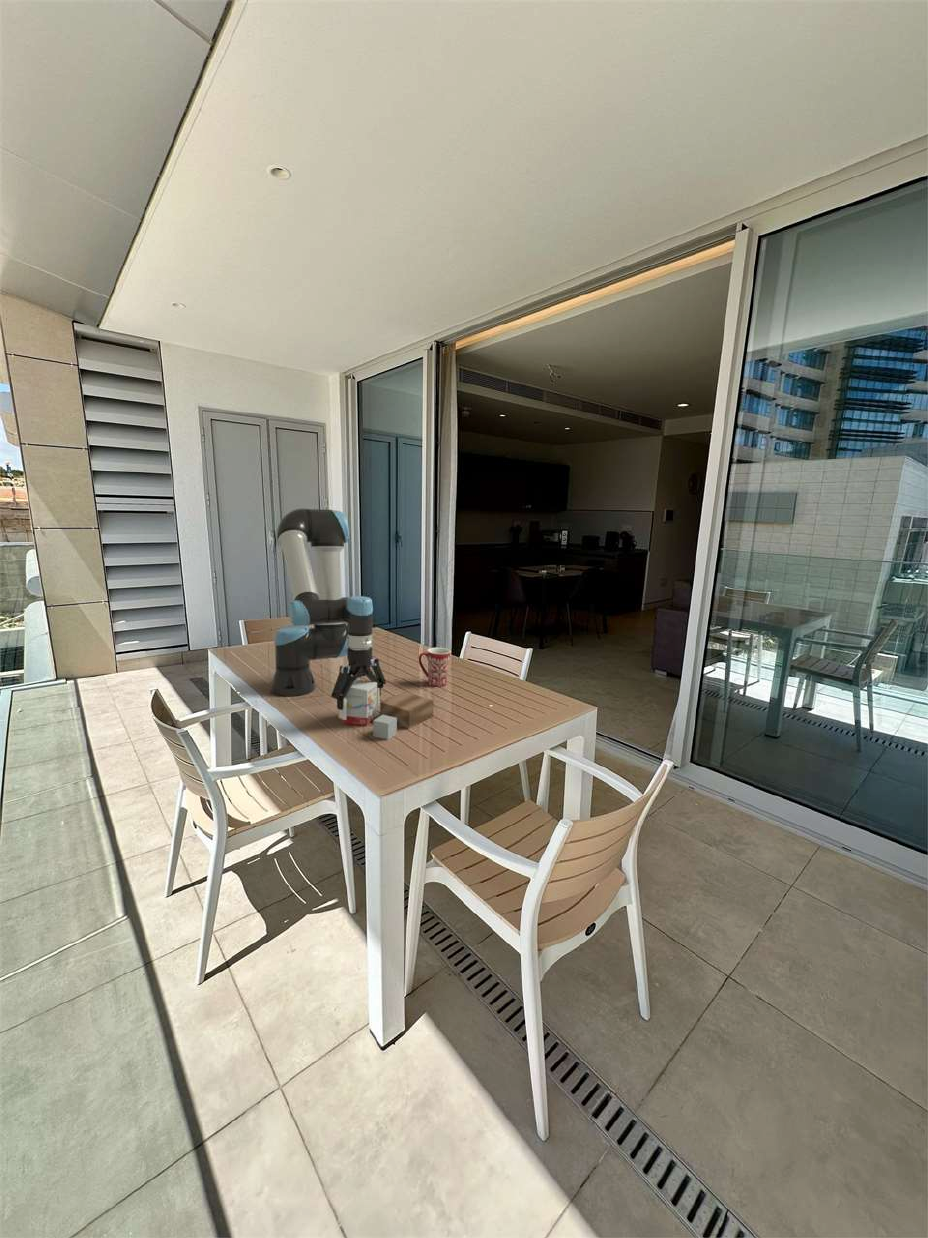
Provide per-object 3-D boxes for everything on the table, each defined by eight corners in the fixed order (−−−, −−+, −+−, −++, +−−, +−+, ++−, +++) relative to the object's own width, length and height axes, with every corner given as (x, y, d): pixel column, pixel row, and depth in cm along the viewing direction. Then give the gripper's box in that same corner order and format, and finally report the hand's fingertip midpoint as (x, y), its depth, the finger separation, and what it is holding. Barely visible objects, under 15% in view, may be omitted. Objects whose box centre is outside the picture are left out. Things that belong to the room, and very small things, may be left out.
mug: (452, 682, 197) (454, 649, 195) (444, 689, 189) (445, 654, 186) (423, 677, 202) (424, 645, 199) (413, 684, 193) (414, 650, 190)
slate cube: (373, 736, 146) (373, 720, 145) (382, 730, 151) (382, 714, 150) (388, 740, 145) (388, 723, 144) (396, 733, 149) (396, 717, 148)
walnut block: (380, 719, 159) (380, 701, 158) (404, 708, 169) (405, 692, 168) (408, 729, 153) (409, 711, 151) (432, 717, 162) (433, 700, 161)
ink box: (367, 726, 153) (367, 689, 151) (341, 723, 155) (340, 686, 152) (377, 716, 161) (377, 681, 159) (352, 712, 163) (352, 678, 161)
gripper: (335, 657, 141) (335, 727, 145) (397, 642, 161) (396, 704, 165) (318, 652, 146) (319, 720, 150) (381, 638, 165) (380, 699, 169)
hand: (359, 712), depth 157 cm, fingers open, 13 cm apart
